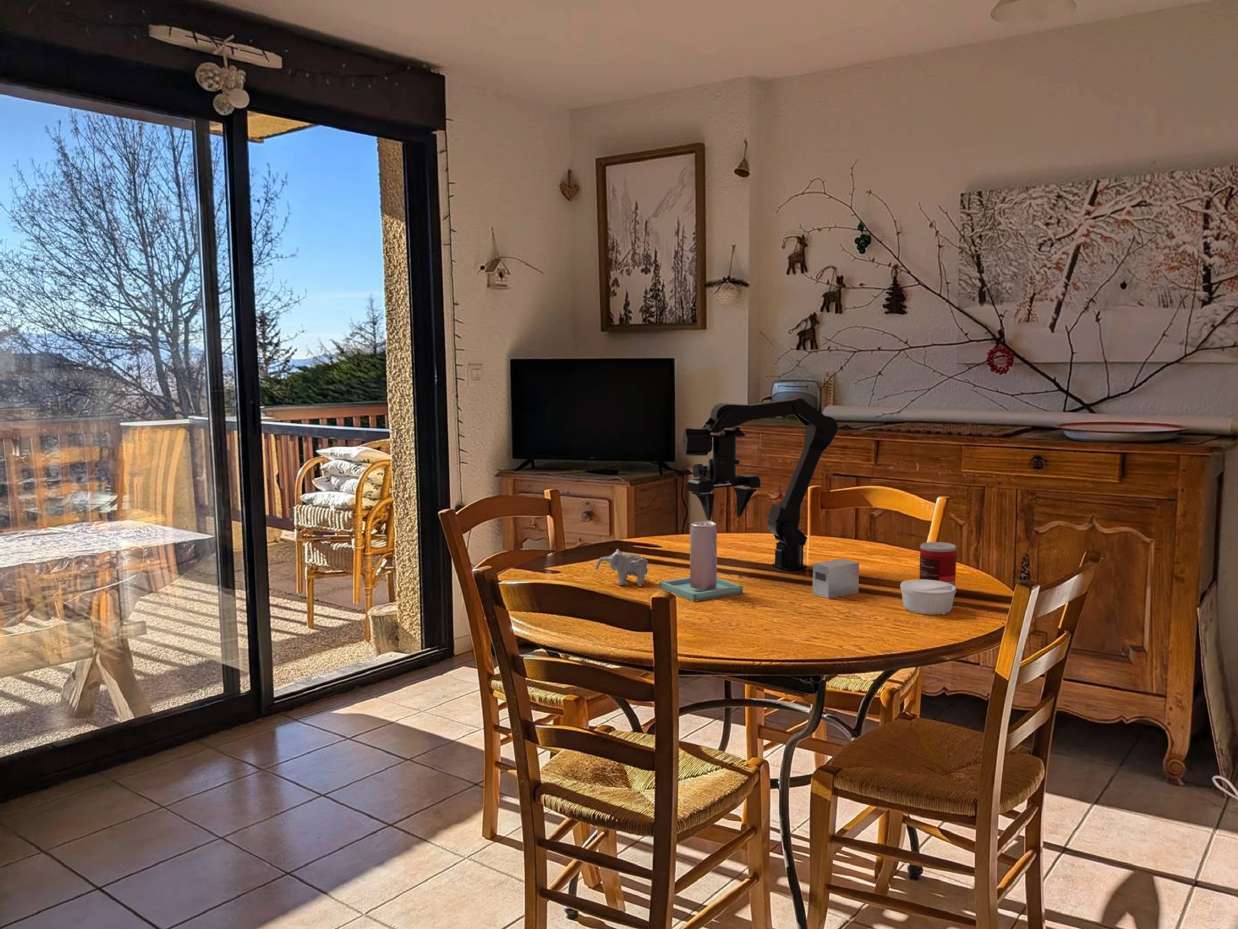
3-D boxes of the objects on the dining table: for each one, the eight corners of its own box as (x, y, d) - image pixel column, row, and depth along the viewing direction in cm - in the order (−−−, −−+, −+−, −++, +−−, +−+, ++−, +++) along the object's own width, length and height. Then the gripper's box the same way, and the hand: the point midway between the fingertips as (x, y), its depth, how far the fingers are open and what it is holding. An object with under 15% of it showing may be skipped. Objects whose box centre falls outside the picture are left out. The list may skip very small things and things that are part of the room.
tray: (707, 581, 233) (707, 574, 233) (742, 593, 222) (742, 586, 221) (659, 588, 226) (659, 581, 226) (693, 601, 215) (693, 594, 215)
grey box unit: (843, 588, 225) (844, 558, 225) (859, 593, 221) (860, 562, 220) (811, 594, 221) (812, 563, 220) (827, 599, 216) (828, 567, 215)
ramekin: (947, 620, 200) (948, 594, 199) (892, 612, 206) (893, 587, 205) (961, 607, 209) (961, 583, 208) (908, 600, 215) (908, 576, 214)
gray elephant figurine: (652, 588, 229) (653, 555, 228) (601, 588, 226) (603, 555, 225) (641, 579, 237) (642, 548, 237) (592, 580, 234) (594, 548, 234)
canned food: (955, 591, 223) (956, 542, 221) (954, 599, 215) (956, 549, 214) (919, 588, 225) (921, 540, 224) (918, 596, 218) (919, 547, 216)
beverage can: (695, 585, 227) (695, 520, 225) (720, 587, 225) (720, 522, 223) (686, 591, 222) (686, 525, 220) (711, 593, 219) (711, 526, 217)
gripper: (734, 450, 253) (734, 510, 255) (674, 454, 243) (674, 517, 245) (762, 454, 243) (761, 516, 245) (700, 458, 234) (700, 523, 236)
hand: (723, 518), depth 243 cm, fingers open, 9 cm apart
